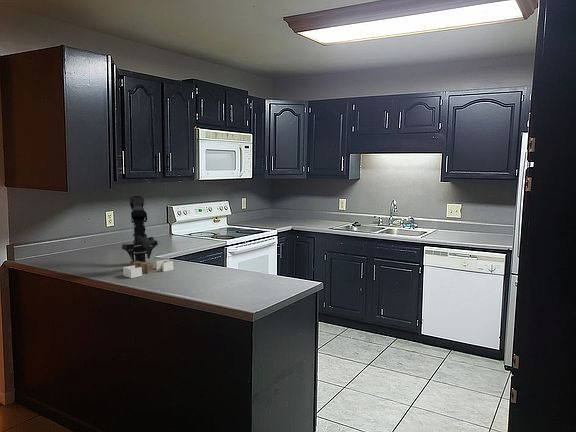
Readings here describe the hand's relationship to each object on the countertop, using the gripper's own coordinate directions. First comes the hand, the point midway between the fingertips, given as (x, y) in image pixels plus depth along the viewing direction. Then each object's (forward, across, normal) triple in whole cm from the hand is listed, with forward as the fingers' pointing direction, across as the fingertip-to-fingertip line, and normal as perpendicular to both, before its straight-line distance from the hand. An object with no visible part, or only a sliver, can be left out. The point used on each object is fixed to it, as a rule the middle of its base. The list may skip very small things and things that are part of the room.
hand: (141, 260), depth 255 cm
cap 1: (+6, -9, -7) cm, 13 cm away
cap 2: (+6, +10, -7) cm, 14 cm away
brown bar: (+6, 0, 0) cm, 6 cm away
